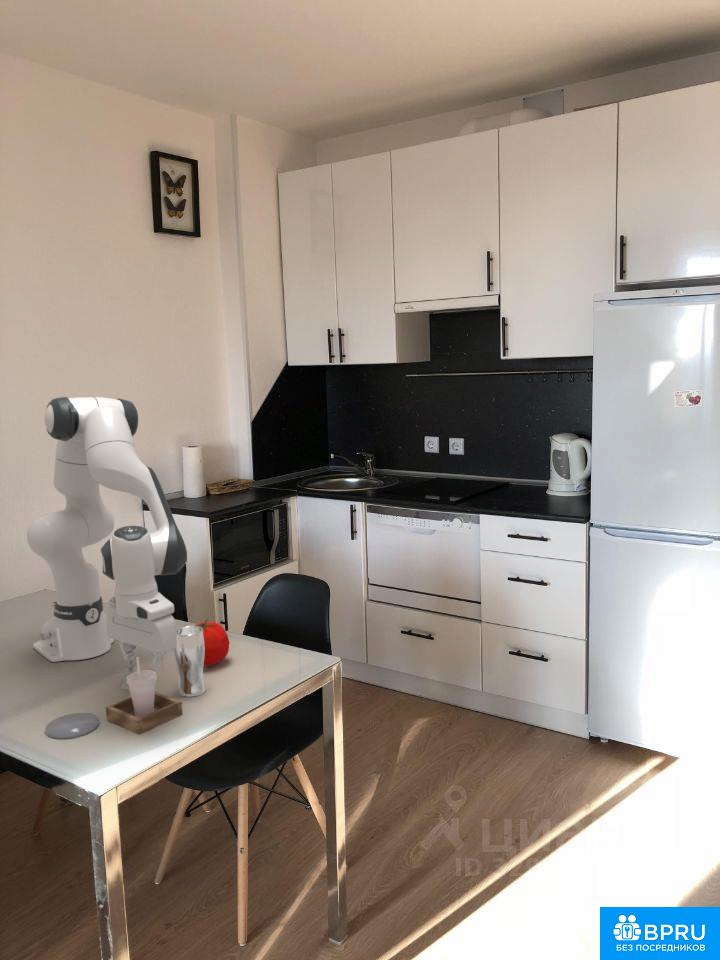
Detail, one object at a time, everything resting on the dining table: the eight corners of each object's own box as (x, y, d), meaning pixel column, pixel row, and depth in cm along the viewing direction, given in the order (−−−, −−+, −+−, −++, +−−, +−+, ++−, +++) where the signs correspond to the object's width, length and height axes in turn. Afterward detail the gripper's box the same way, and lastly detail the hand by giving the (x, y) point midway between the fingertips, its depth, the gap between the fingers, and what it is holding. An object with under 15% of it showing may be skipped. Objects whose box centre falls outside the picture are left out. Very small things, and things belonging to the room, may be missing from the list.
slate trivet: (35, 729, 176) (35, 727, 176) (81, 711, 184) (80, 708, 184) (63, 744, 169) (63, 741, 169) (109, 724, 178) (109, 721, 177)
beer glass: (175, 688, 195) (171, 628, 193) (204, 683, 197) (200, 623, 195) (179, 700, 189) (175, 637, 186) (210, 694, 191) (206, 633, 189)
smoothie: (136, 710, 184) (131, 651, 181) (163, 711, 183) (159, 651, 181) (125, 723, 178) (120, 662, 175) (153, 724, 177) (149, 662, 175)
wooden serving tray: (106, 720, 180) (105, 707, 179) (150, 701, 188) (149, 689, 188) (139, 734, 172) (137, 721, 172) (182, 714, 181) (181, 701, 181)
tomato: (222, 652, 217) (219, 612, 215) (236, 667, 207) (234, 624, 205) (177, 661, 212) (174, 620, 210) (190, 677, 201) (187, 633, 200)
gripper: (96, 599, 180) (102, 659, 182) (154, 614, 167) (160, 678, 170) (120, 591, 185) (126, 650, 187) (179, 606, 172) (184, 668, 174)
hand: (143, 664), depth 178 cm, fingers open, 8 cm apart
